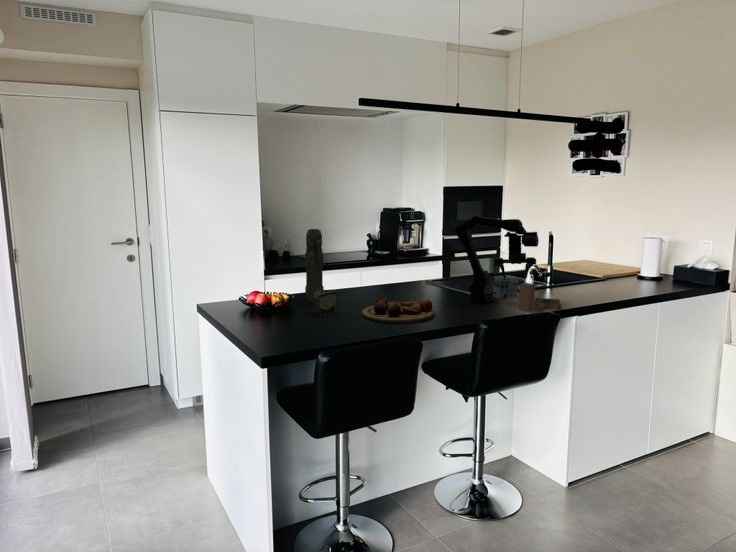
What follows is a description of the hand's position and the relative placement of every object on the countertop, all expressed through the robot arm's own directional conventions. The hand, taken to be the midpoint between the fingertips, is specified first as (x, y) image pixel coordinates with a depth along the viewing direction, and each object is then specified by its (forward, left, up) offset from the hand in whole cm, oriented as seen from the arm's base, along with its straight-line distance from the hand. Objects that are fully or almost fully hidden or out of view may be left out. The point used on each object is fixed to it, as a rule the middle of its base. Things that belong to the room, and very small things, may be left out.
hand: (514, 279), depth 264 cm
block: (+5, -10, -12) cm, 16 cm away
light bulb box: (-3, +21, -13) cm, 25 cm away
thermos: (-95, -10, -13) cm, 96 cm away
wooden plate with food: (-51, -29, -14) cm, 60 cm away
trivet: (+5, -10, -13) cm, 17 cm away
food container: (-84, -34, -13) cm, 92 cm away
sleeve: (+16, +2, -13) cm, 21 cm away
